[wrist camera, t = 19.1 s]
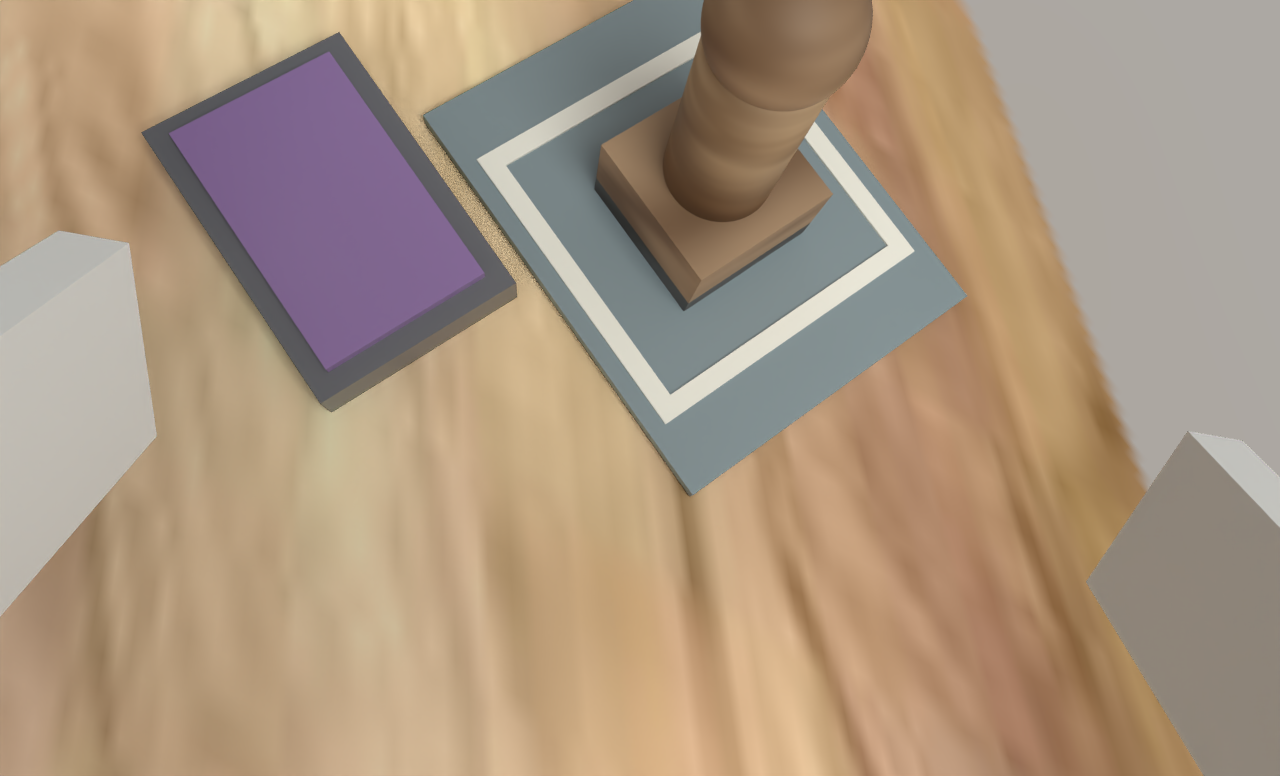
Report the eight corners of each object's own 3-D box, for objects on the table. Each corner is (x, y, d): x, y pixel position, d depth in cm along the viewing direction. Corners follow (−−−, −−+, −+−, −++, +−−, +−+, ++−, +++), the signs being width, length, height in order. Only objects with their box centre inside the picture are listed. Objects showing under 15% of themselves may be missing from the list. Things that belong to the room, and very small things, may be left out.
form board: (425, 123, 33) (422, 113, 32) (703, -30, 36) (707, -42, 35) (689, 496, 31) (693, 495, 30) (960, 300, 34) (968, 295, 33)
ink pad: (160, 154, 31) (136, 126, 29) (348, 57, 33) (336, 25, 31) (331, 412, 30) (317, 401, 28) (517, 297, 32) (515, 279, 30)
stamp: (594, 189, 32) (635, -79, 19) (714, 117, 34) (831, -182, 20) (683, 311, 32) (790, 122, 18) (802, 232, 33) (983, 3, 20)
